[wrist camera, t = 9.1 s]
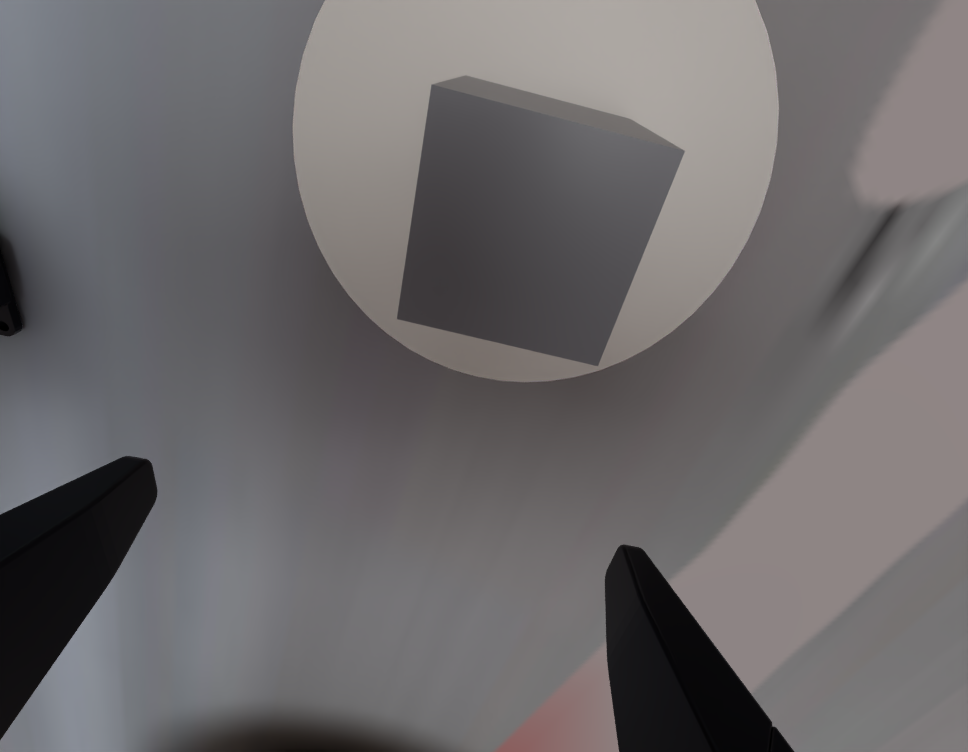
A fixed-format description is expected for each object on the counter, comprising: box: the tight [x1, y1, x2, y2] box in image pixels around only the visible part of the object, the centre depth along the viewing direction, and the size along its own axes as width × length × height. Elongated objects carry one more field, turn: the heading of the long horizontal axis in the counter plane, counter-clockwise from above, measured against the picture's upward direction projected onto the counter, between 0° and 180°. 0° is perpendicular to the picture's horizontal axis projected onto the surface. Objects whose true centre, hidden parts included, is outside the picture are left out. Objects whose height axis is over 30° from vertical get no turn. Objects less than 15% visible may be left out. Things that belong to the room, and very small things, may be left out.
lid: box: [293, 0, 779, 382], centre depth 11 cm, size 12×12×6 cm
